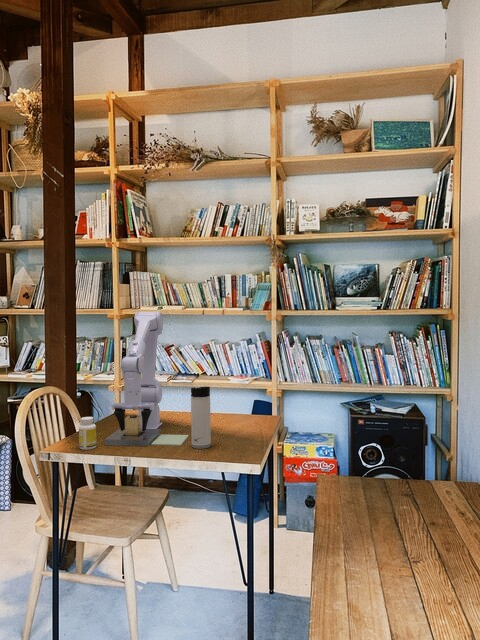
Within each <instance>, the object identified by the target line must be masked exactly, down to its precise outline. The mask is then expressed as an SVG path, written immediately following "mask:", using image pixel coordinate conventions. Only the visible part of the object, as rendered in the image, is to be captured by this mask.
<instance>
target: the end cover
mask: <svg viewBox="0 0 480 640" xmlns="http://www.w3.org/2000/svg"><path fill="white" fill-rule="evenodd" d="M141 435H142V419H141V416H139V414H133V413H132V414H129V415H128V416H125V436H136V437H140V436H141Z"/></svg>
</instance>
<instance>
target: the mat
mask: <svg viewBox="0 0 480 640" xmlns="http://www.w3.org/2000/svg"><path fill="white" fill-rule="evenodd" d="M188 437H189V434H161V435H160V436H159V437H158V438H157V439H156V440H155V441H153V442H152V443H151V444H150V445H151V446H180V447H181V446H182V445H183V443H184V442H185V441H186V440H187V439H188Z"/></svg>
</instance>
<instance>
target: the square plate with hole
mask: <svg viewBox="0 0 480 640" xmlns="http://www.w3.org/2000/svg"><path fill="white" fill-rule="evenodd" d="M161 431H162V429H161V428H157V429H146V430H145V431H142V435H141V436H140V437H136V436H125V430H123V431H121V429H120V428H118V429H117V430H115V431H114V432H112V433H111V434H110V435H108V436H107V437H105V438H104V446H113V447H115V446H116V447H117V446H118V447H119V446H125V447H149V446H150V445H151V444H152V443H153V442H154V441H155V440H156V439H157V438H158V437H159V436H160V435H162V433H161Z"/></svg>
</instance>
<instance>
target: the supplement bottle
mask: <svg viewBox="0 0 480 640" xmlns="http://www.w3.org/2000/svg"><path fill="white" fill-rule="evenodd" d="M94 420H95V419H94V416H83V417H81V418H80V423H81V424H80V425H79V426H78V447H79V449H81V450H82V451H83V450H85V451H86V450H92V449H96V447H97V425H96V424H95V423H94Z"/></svg>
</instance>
